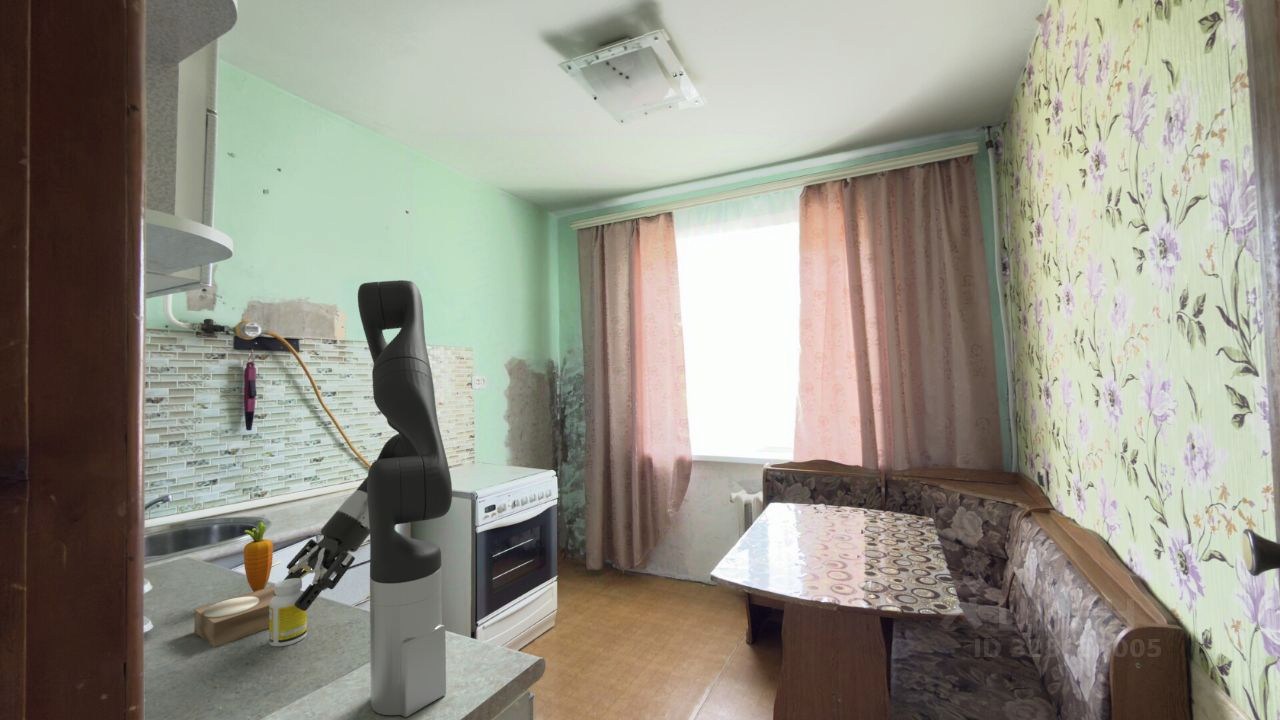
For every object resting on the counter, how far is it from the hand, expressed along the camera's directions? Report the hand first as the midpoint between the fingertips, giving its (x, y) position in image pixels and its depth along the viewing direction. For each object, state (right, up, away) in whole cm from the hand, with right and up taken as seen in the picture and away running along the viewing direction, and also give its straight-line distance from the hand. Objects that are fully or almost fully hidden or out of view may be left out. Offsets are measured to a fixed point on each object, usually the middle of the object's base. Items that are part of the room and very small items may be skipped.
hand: (288, 602), depth 90 cm
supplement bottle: (0, -6, 0) cm, 7 cm away
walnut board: (-11, -7, +6) cm, 14 cm away
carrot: (-19, -8, +19) cm, 28 cm away
